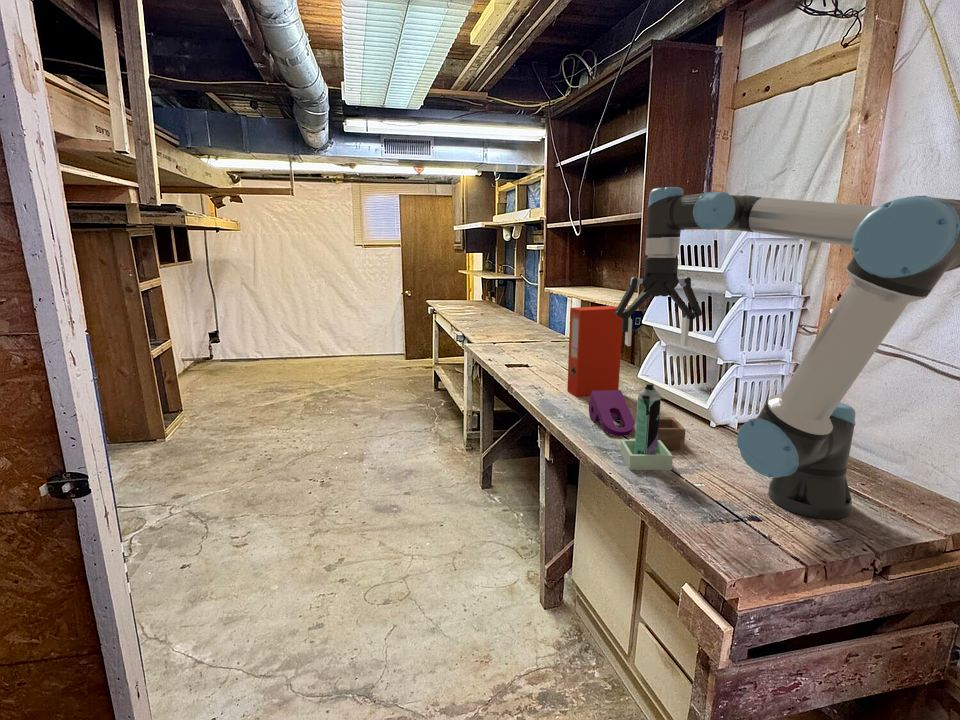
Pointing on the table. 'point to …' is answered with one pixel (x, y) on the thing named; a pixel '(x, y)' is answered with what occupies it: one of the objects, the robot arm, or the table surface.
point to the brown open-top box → (671, 433)
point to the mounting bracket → (611, 411)
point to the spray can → (647, 421)
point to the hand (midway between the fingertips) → (655, 345)
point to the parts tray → (645, 457)
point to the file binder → (594, 350)
